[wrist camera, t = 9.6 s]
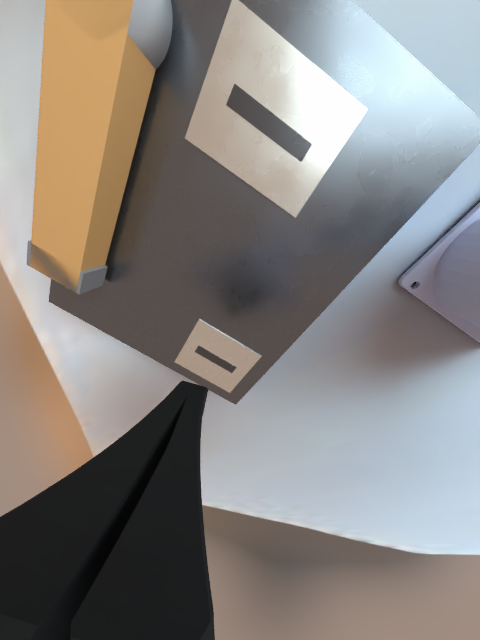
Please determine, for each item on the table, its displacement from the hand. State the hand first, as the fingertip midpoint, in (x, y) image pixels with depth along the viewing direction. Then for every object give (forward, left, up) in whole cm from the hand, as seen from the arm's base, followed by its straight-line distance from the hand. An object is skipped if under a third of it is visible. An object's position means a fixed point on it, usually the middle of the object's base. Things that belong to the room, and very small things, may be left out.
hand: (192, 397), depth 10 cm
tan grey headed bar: (+11, -6, -6) cm, 14 cm away
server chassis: (+4, -5, -9) cm, 11 cm away
